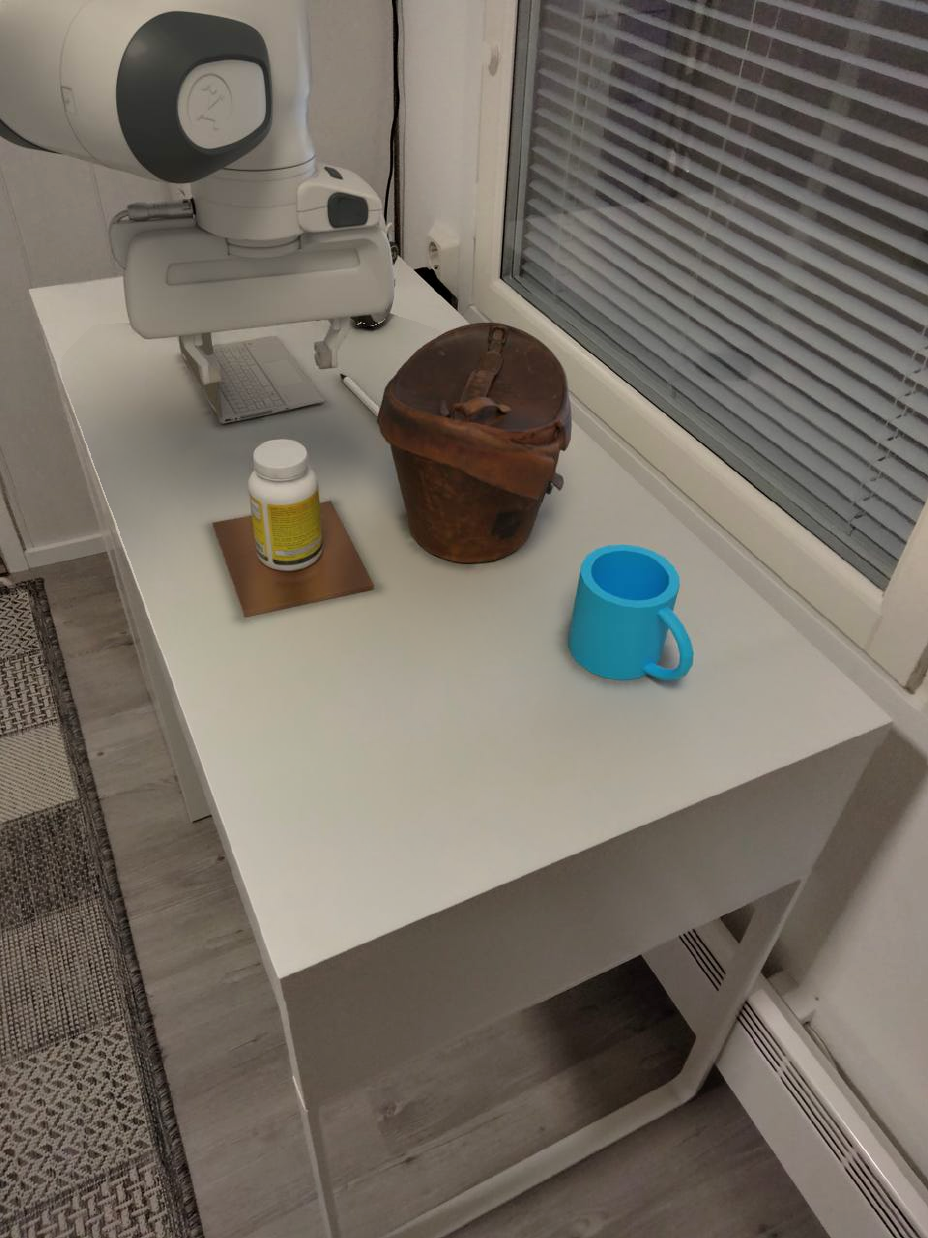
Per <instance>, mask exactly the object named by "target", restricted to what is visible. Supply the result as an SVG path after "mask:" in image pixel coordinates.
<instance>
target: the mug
mask: <svg viewBox="0 0 928 1238" xmlns="http://www.w3.org/2000/svg"><path fill="white" fill-rule="evenodd" d="M579 569H580V570H579V575H578V582H577V587H576V594H575V600H574V605H573V611H572V617H571V623H570V628H569V635H568V644H567V645H568V648H569V651H570V654H571V656H572V657H573V659H574V660H575V661H576V662H577V663H578V665H579V666H580V667H582V668H584V670H587V671H588V672H589V673H591V674H594V675H597V676H599V677H602V678H603V679H610V680H618V681H624V680H636V679H638V678H642V677H644V676H647V675H649V676H651V677H654V678H656V679H659V680H663V681H677V680H679V679H681V678H683V677H685V676H687V675H688V674H689V672H690V670H691V668H692V667H693V665H694V655H695V654H694V649H693V644H692V639H691V637H690V636H689V634H688V631H687V629H686V627H685V625H684V624H683V623H682V621H681V620H680V619H679V618H678V616H677V615H676V613H675V612H674V610H675V605H676V601H677V598H678V594H679V590H680V587H681V585H680V582H681V581H680V575H679V572H678V571H677V568H676V567H675V566H674V565H673V564H672V563H671V562H670V561H669V560H668V559H667V558H666V557H664V556H663V555H662V554H661V555H660V554H659V553H657V552H655V551H654V550H652V549H648V548H645V547H642V546H639V545H632V544H609V545H606V546H602V547H597V548H596V549H594V550H592V551H591V552H589V553H588V554H586V556H585V558H584V559H583V561H582V562H581V564H580V568H579ZM669 631H670V632H671V634H672V636H673V638H674V640H675V642H676V645H677V649H678V652H679V661H678V662H679V663H678V665H677V666H676V667H675V668H671V669H670V668H665V667H662V666H660V665H658V664H659V662H660V660H661V658H662V655H663V651H664V647H665V643H666V639H667V636H668V632H669Z"/></svg>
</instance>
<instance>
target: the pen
mask: <svg viewBox="0 0 928 1238" xmlns="http://www.w3.org/2000/svg"><path fill="white" fill-rule="evenodd" d="M339 376H340V378H341V381H342V382H343V384H344V385H345V386H346V387H348V389H349V390H350V391H351V392H352V393H353V394H354V395H355V396H356V397H357V398H358V399H359V400H360V402H361V403H363V404H364V405H365V406H366V407H367V408H368V409H369V410H370V411H371V412H372V413H373V414H374V416H376V417H378V413H379V409H380V406H379V405H377V404H376V403H375V402H374V401H373V400H372V399H371V398H370V396H368V395H367V394H366V393H365V392H364V391H363V390H362V389H361V388H360V387H359V386H358V385H357V384H356V382H354V381H353V380H352V379H351V378H350V377H349V376H347V375H345V374H343V373H339Z"/></svg>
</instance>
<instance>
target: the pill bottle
mask: <svg viewBox="0 0 928 1238" xmlns="http://www.w3.org/2000/svg"><path fill="white" fill-rule="evenodd" d="M252 459H253V467H254V470H253V471H252V473H251V474H250V475H249V478H248V481H247V490H248V497H249V505H250V514H251V515H252V521H253V529H254V537H255V545H256V551H257V555H258V557H259V559H260V560H261V562H262V563H264V564H265V565H266V566H268V567H270V568H272V569H276V570H280V571H295V570H299V569H303V568H305V567H308V566H310V565H311V564H313V563H314V562H315V561H316V560H317V559H318V558H319V557H320V555H321V553H322V531H321V517H320V503H321V502H320V490H319V481H318V477H317V474H316V472H315V471H314V470H313V469H312V468H311V467H310V466H309V455H308V450H307V448H306V447H305V446H304V445H303V444H302V443H300V442H298V441H295V440H291V439H285V438H284V439H280V438H279V439H272V440H268V441H265V442H262V443H261V444H259V445H258V446H256V448H255V449H254V451H253V453H252Z"/></svg>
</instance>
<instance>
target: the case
mask: <svg viewBox="0 0 928 1238" xmlns="http://www.w3.org/2000/svg"><path fill="white" fill-rule="evenodd" d="M569 392H570V391H569V382H568V377H567V373H566V370H565V368H564V366H563V365H562V363H561V361H560V360H559V358H558V357H557V355H555V353H554V352H553V351H552V350H551V349H550V348H549V347H548V346H547V345H546V344H545V343H543V341H541V340H540V339H538V338H537V337H535V336H534V335H532V334H530V333H529V332H527V331H525V330H523V329H521V328H518V327H515V326H512V325H508V324H505V323H500V322H475V323H469V324H464V325H461V326H458V327H455V328H452V329H449V330H447V331H445V332H442V334H441V333H440V334H439V335H437V336H436V337H435V338H432V339H431V340H430V341H428V342H426V343H425V344H424V345H422V346H421V347H419V348H418V349H417V350H416V351H415V352H414V353H413V354H411V356H410V357H409V358H408V359H407V360H406V361H405V362H404V363H403V364H402V366H401V367H400V368H399V369H398V370H397V372H396V373H395V374H394V376H393V377H392V378H391V379H390V380H389V381H388V382H387V384H386V386H385V387H384V389H383V395H382V399H381V402H380V405H379V408H380V409H379V413H378V417H377V416H376V417H377V418H376V424H377V425H378V429H379V432H380V434H381V436H382V438H383V439H384V440H385V441H384V442H386V443H388V444H389V445H390V451H391V455H392V460H393V464H394V468H395V471H396V475H397V480H398V484H399V489H400V492H401V496H402V501H403V504H404V508H405V516H406V518H407V525H408V529H409V532H410V533H411V535H412V537H413V538H414V539H415V540H416V542H417V543H418V544H419V545H420V546H421V547H422V548H423V549H425V550H426V551H427V552H429V553H430V554H432V555H433V556H436V557H438V558H441V559H443V560H446V561H449V562H453V563H454V562H455V563H461V564H463V563H465V564H472V563H473V564H474V563H484V562H491V561H496V560H500V559H502V558H505V557H507V556H509V555H510V554H512V553H514V552H516V551H517V550H518V549H520V548H521V546H523V545H524V544H525V543H526V541H527V540H528V538H529V537H530V535H531V533H532V531H533V528H534V525H535V522H536V520H537V517H538V515H539V512H540V509H541V506H542V504H543V502H544V500H545V497H546V495H548V496H550V495H551V493H552V490H553V487H555V488H556V489H557V490H558V491H559V492H560V491H562V489H563V488H564V483H565V481H564V476H563V475H562V474H560V473H558V472H556V471H557V466H558V462H559V457H560V452H561V451H563V452H565V451H567V449H568V448H569V445H570V443H571V441H572V440H571V439H572V430H573V429H572V428H573V422H572V420H573V418H572V416H573V415H572V406H571V405H572V404H571V399H570V393H569Z"/></svg>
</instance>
